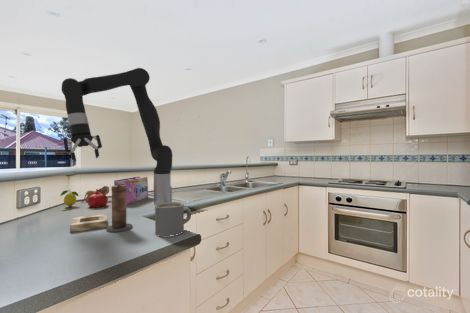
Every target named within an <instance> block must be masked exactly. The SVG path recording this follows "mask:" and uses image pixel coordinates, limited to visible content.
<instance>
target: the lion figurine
mask: <svg viewBox="0 0 470 313" xmlns="http://www.w3.org/2000/svg"><path fill="white" fill-rule="evenodd" d="M95 192H96V190H88V191H86V192H85V194H84V198H83V200H81V202H82V203H83V202H84V201H85V202H87V201H88V197H89V196H91V195H94V194H92V193H95ZM100 192H103V193H102V194H104V195H106V196H107V195H108V194H109V193H110V187H109V186H107V185H104V186H103V187H100V188H99V189H98V193H100ZM104 192H105V193H104ZM90 193H91V194H90Z"/></svg>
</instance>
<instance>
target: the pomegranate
mask: <svg viewBox="0 0 470 313" xmlns="http://www.w3.org/2000/svg"><path fill="white" fill-rule="evenodd" d="M98 190H99V189H95V191H96V192H95V193H92V194H94V195H91V196H89V197H88V199H87V200H88V201H86V202H87V205H88V206H89V207H90V208H100V207H101V208H103V207H104V206H106V205H107V204H108V198H109V197H108V196H107V194H106V195H104V194H102V193H103V192H100V193H98ZM104 193H105V192H104ZM90 194H91V193H90Z"/></svg>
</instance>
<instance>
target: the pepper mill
mask: <svg viewBox="0 0 470 313" xmlns="http://www.w3.org/2000/svg"><path fill="white" fill-rule="evenodd" d="M110 187H111V189H110V190H111V225H112V228H113V229H121V228H124V227H126V226H127V224H128V223H127V221H128V220H127V204H126V190H127V186H126V185H121V183H120V182H119V183H117V185H116V186H114V185H112V186H110Z"/></svg>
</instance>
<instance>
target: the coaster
mask: <svg viewBox="0 0 470 313" xmlns="http://www.w3.org/2000/svg"><path fill="white" fill-rule="evenodd" d="M132 228H133V224H131V223H127V226H126V227H124V228H121V229H113V228H112V224H111V225H109V226H107V227H105V231H106V233H107V232H108V233H121V232H126V231H130V230H132Z"/></svg>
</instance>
